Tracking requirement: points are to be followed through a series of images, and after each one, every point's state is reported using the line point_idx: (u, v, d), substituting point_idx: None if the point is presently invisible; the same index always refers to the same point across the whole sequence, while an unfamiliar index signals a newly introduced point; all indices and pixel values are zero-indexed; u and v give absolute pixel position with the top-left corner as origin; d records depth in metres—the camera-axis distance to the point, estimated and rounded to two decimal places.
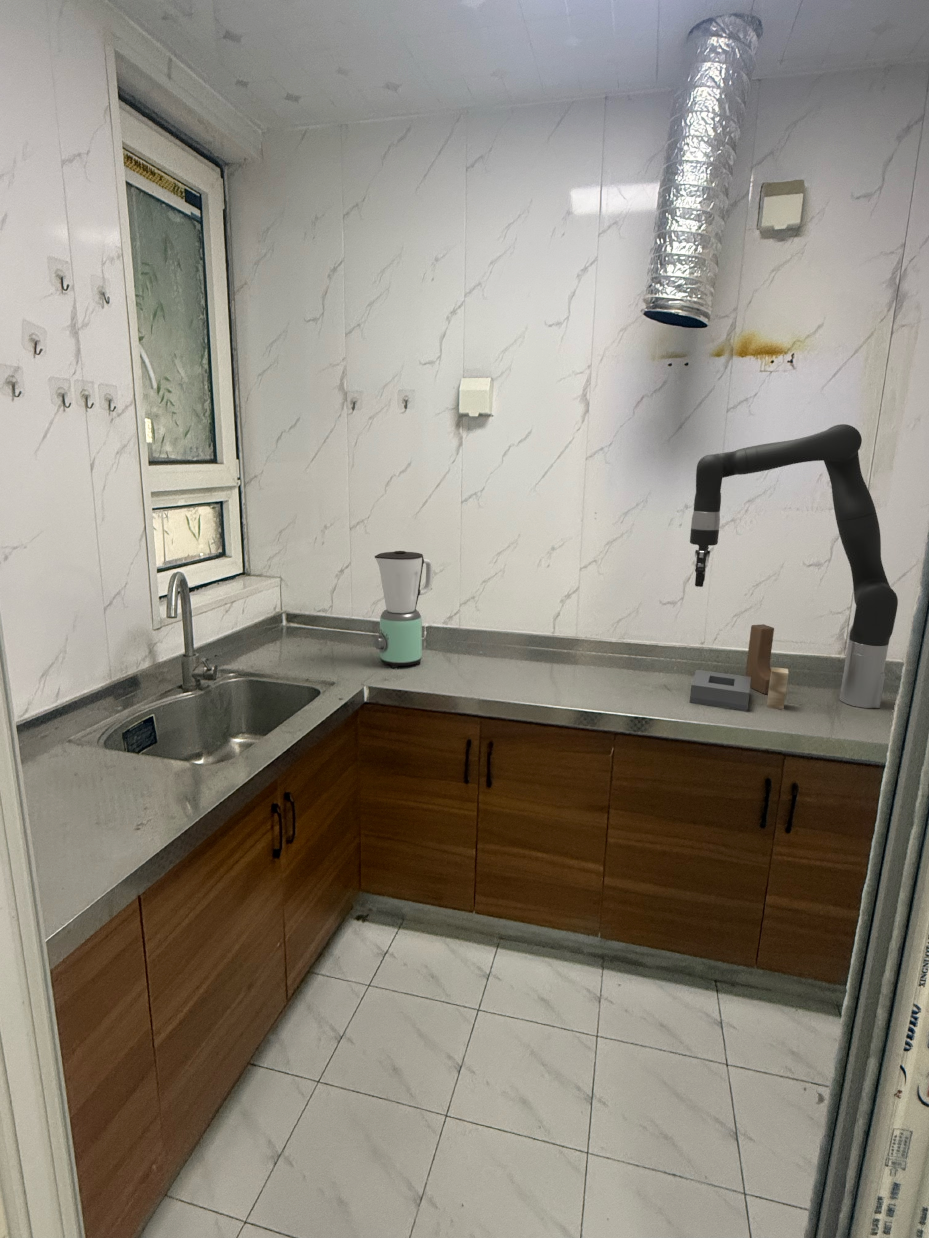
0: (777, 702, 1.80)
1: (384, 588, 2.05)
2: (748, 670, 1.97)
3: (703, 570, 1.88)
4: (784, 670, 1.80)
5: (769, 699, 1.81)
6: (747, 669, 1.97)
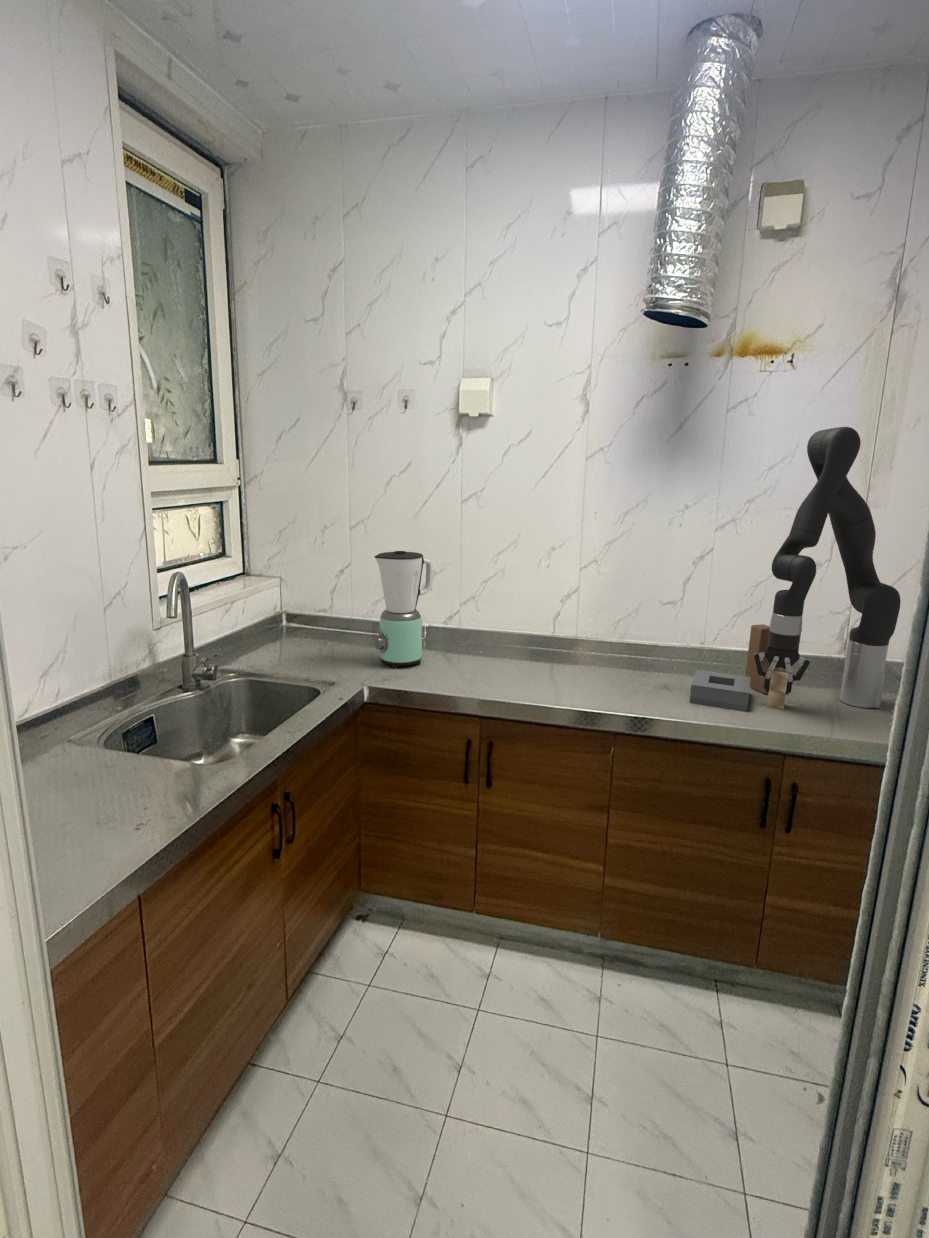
0: (777, 702, 1.80)
1: (384, 588, 2.05)
2: (748, 670, 1.97)
3: None
4: (784, 670, 1.80)
5: (769, 699, 1.81)
6: (747, 669, 1.97)
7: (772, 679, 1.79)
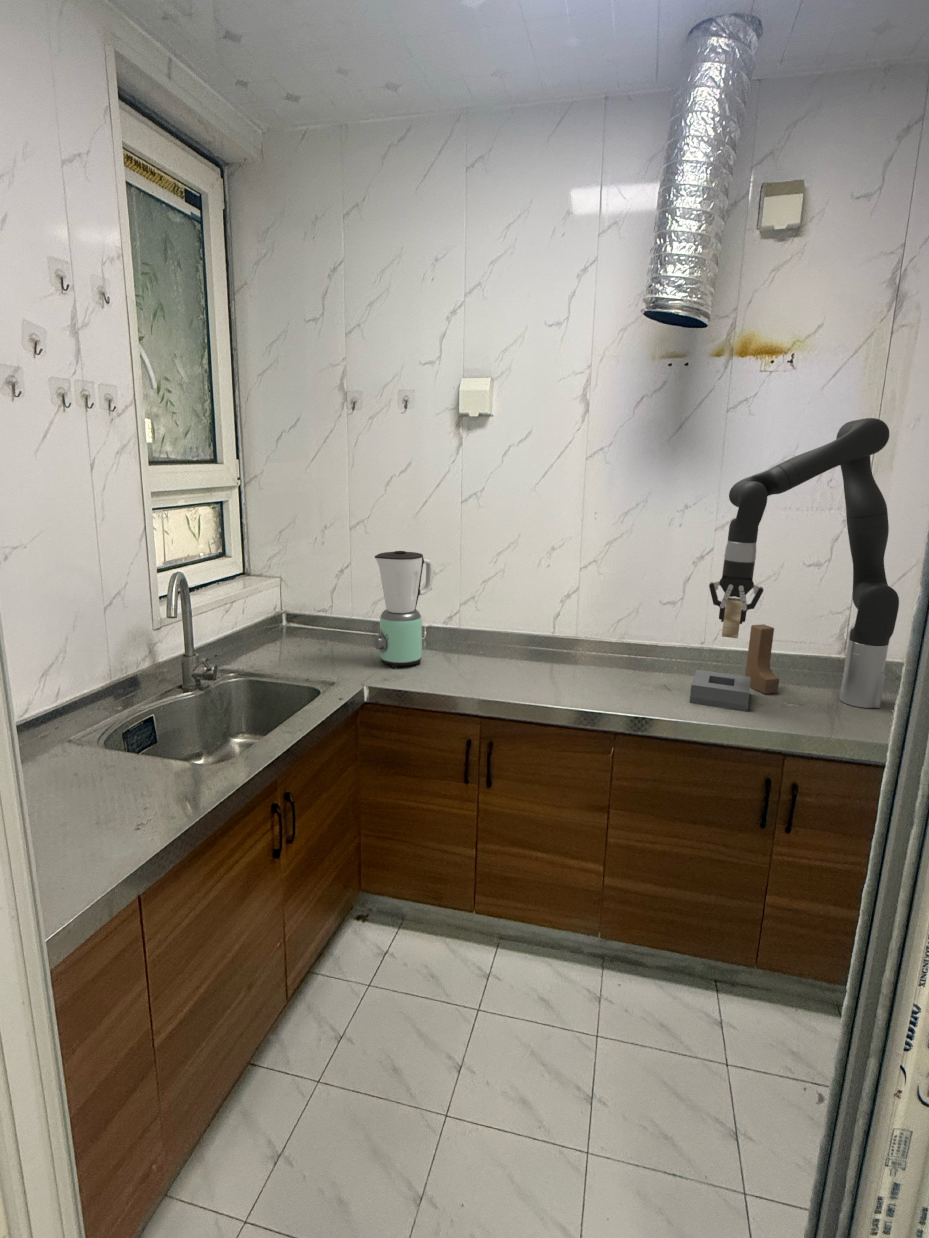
0: (731, 631, 1.80)
1: (384, 588, 2.05)
2: (748, 670, 1.97)
3: None
4: (739, 599, 1.80)
5: (724, 628, 1.81)
6: (747, 669, 1.97)
7: (726, 608, 1.80)
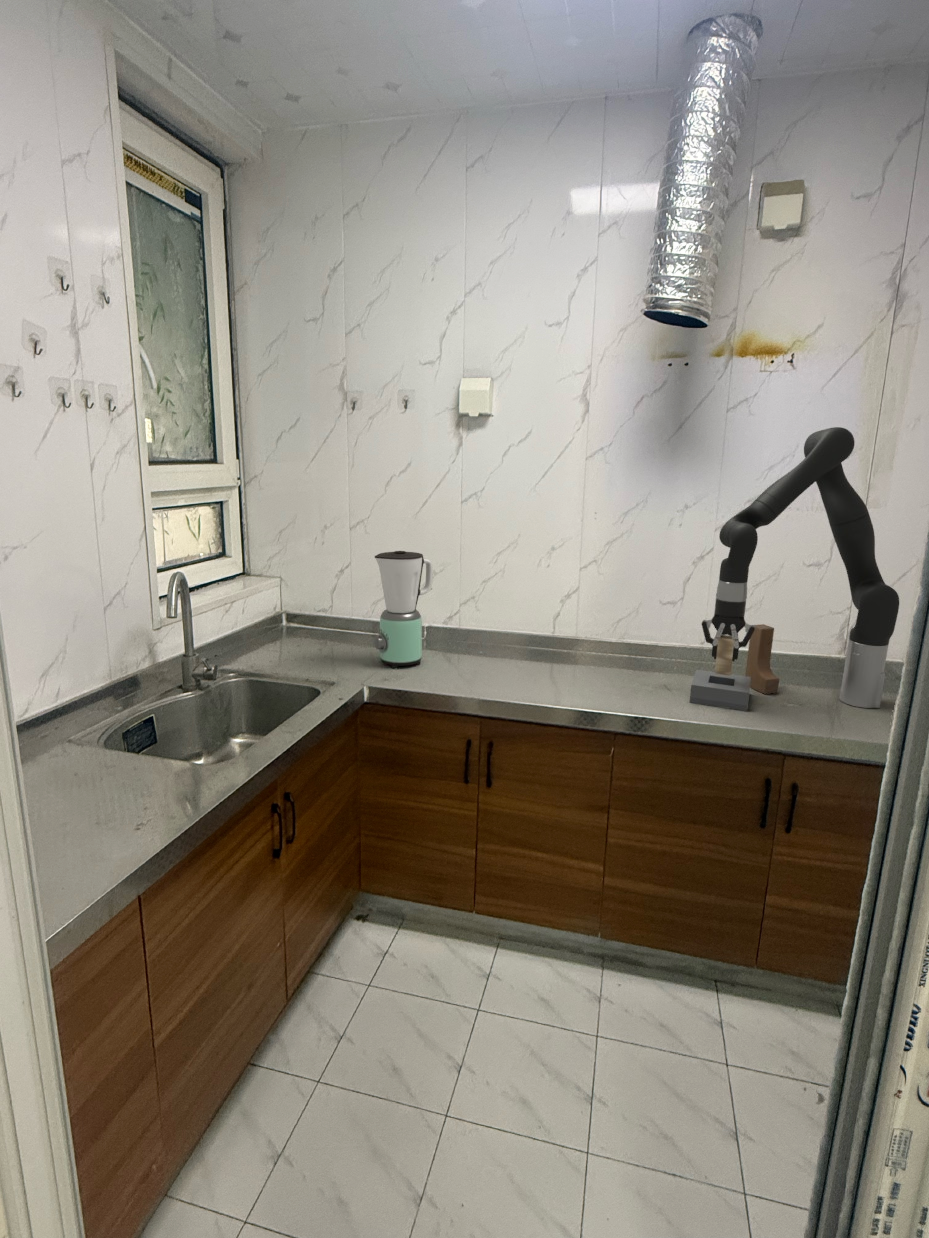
0: (724, 668, 1.83)
1: (384, 588, 2.05)
2: (748, 670, 1.97)
3: None
4: (731, 637, 1.83)
5: (716, 666, 1.84)
6: (747, 669, 1.97)
7: (719, 646, 1.83)
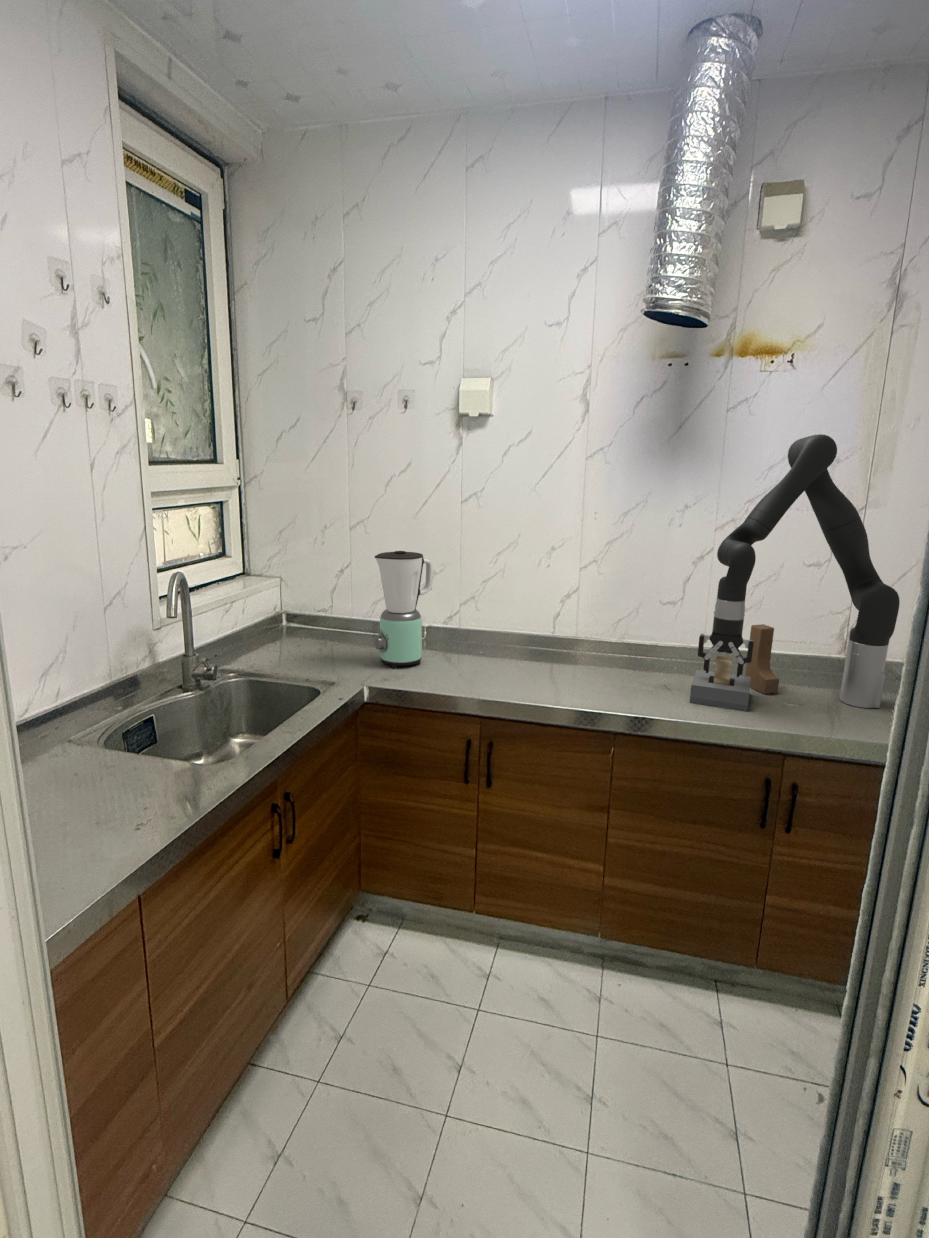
0: None
1: (384, 588, 2.05)
2: (748, 670, 1.97)
3: None
4: (728, 658, 1.84)
5: None
6: (747, 669, 1.97)
7: (716, 667, 1.84)
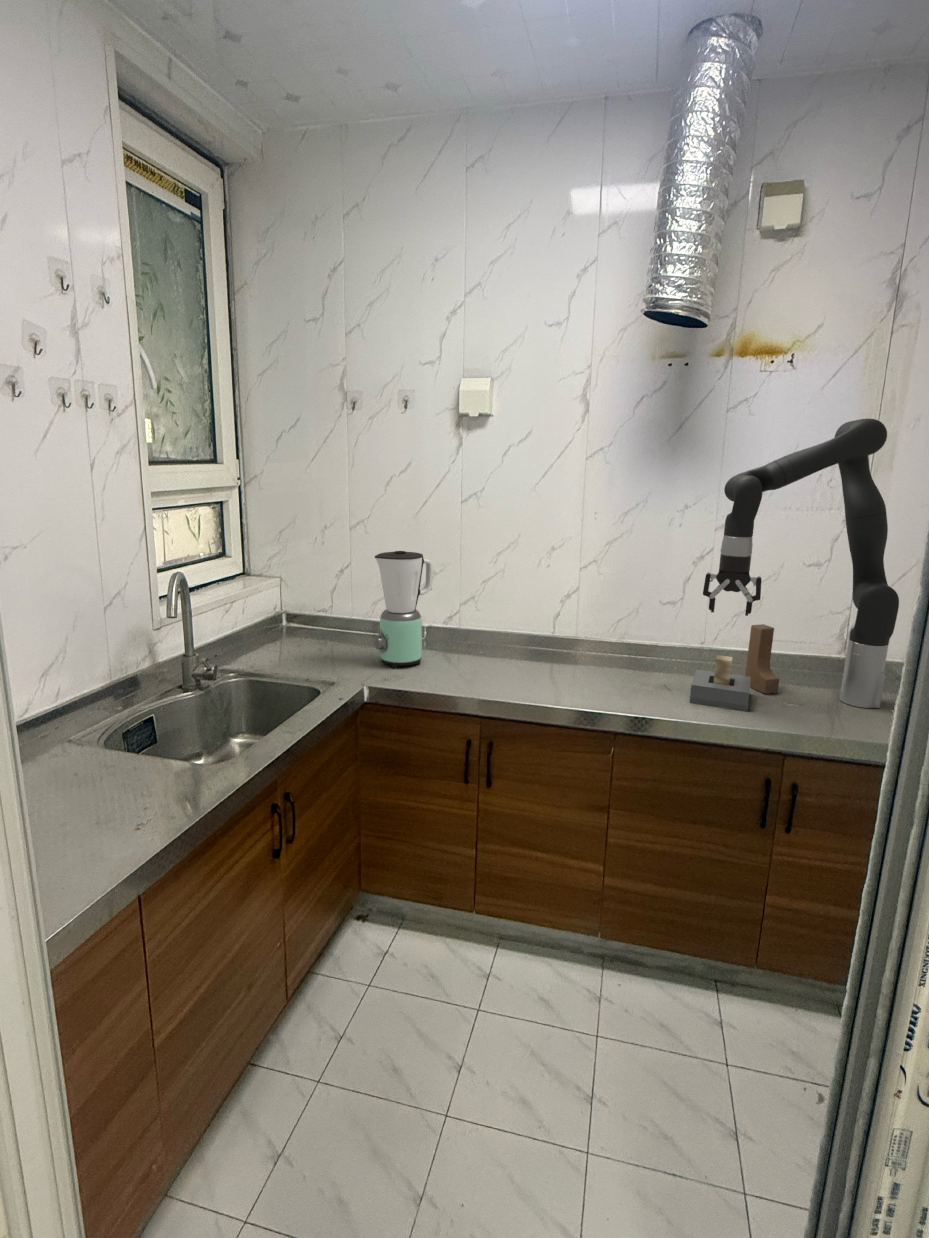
0: None
1: (384, 588, 2.05)
2: (748, 670, 1.97)
3: None
4: (728, 658, 1.84)
5: None
6: (747, 669, 1.97)
7: (716, 667, 1.84)
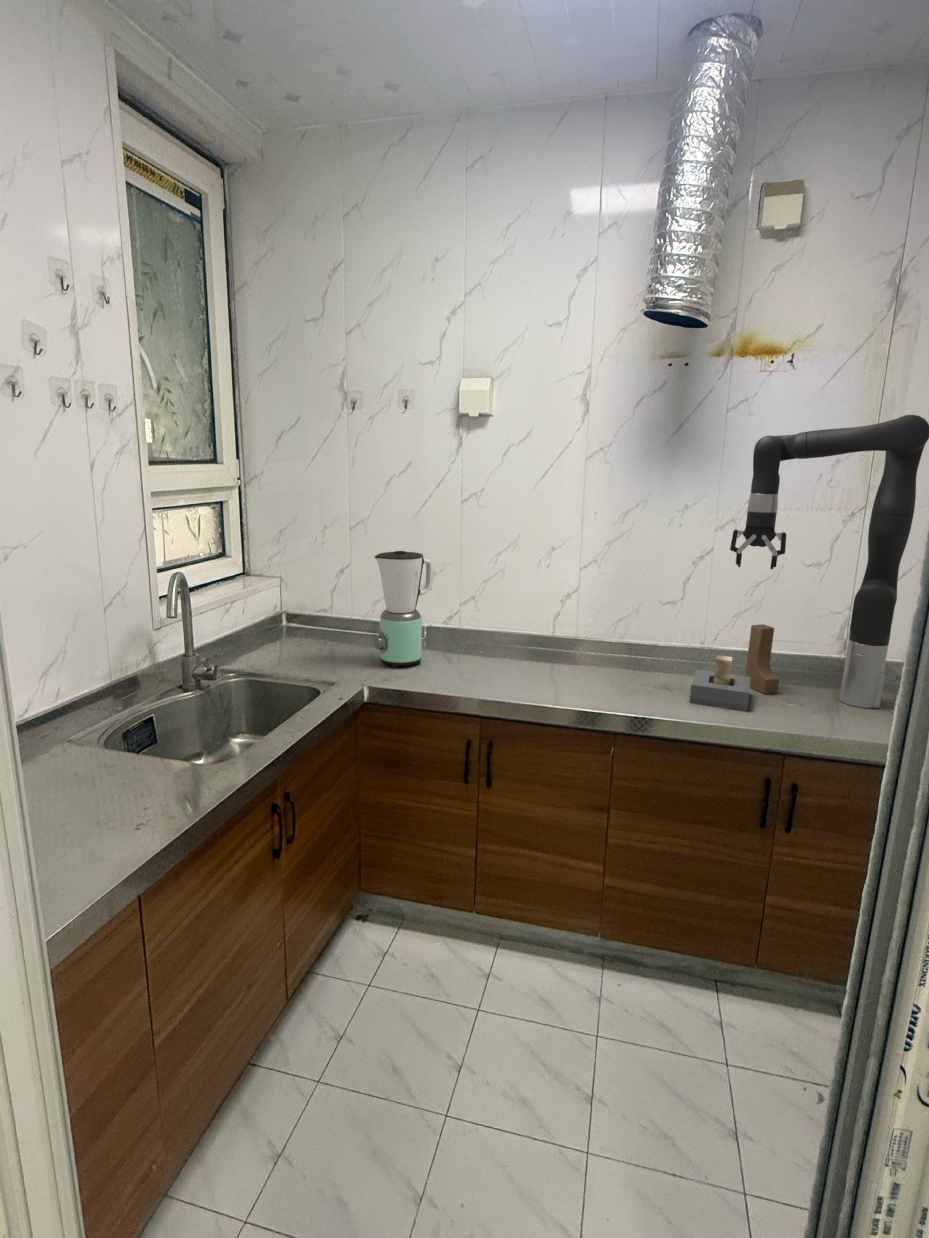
0: None
1: (384, 588, 2.05)
2: (748, 670, 1.97)
3: None
4: (728, 658, 1.84)
5: None
6: (747, 669, 1.97)
7: (716, 667, 1.84)
